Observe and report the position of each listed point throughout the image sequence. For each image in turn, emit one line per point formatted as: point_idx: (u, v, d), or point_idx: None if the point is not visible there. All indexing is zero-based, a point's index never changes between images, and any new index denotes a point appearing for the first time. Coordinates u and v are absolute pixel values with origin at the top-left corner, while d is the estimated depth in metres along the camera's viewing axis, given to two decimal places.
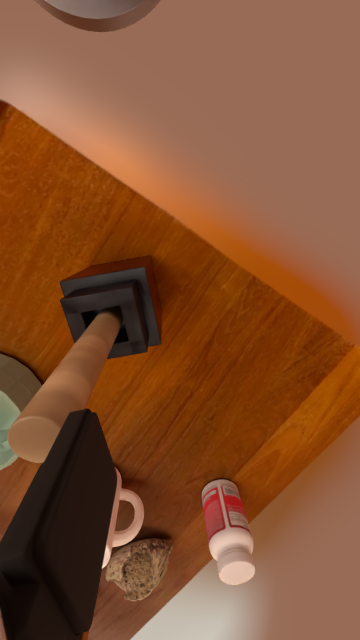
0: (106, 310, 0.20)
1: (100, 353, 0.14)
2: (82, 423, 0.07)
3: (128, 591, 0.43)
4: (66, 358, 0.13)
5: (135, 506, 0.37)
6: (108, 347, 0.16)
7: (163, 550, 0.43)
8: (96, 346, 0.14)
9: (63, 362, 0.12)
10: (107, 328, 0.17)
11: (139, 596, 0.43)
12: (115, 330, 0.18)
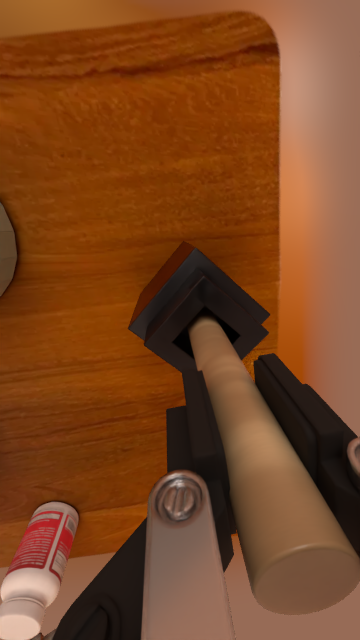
0: (217, 321, 0.16)
1: None
2: (199, 376, 0.09)
3: None
4: (256, 394, 0.08)
5: None
6: None
7: None
8: None
9: (260, 402, 0.08)
10: None
11: None
12: None
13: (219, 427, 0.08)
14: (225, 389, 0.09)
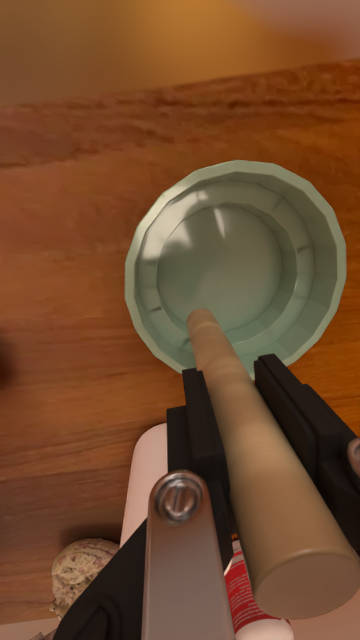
0: (217, 322, 0.16)
1: None
2: (199, 376, 0.09)
3: (63, 602, 0.29)
4: (256, 396, 0.08)
5: None
6: None
7: None
8: None
9: (260, 404, 0.08)
10: None
11: None
12: None
13: (219, 429, 0.08)
14: (225, 391, 0.09)
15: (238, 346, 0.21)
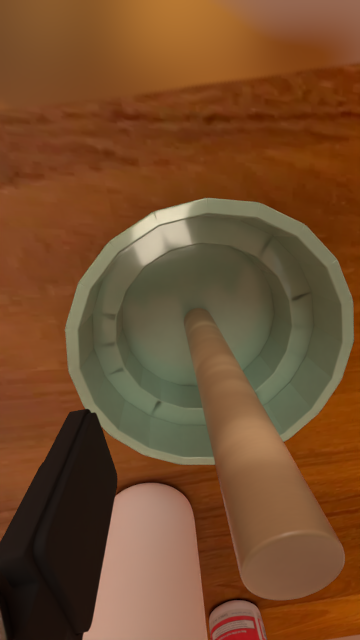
0: (214, 321, 0.16)
1: None
2: (82, 423, 0.07)
3: None
4: (249, 392, 0.09)
5: None
6: None
7: None
8: None
9: (253, 400, 0.08)
10: None
11: None
12: None
13: (213, 424, 0.08)
14: (219, 387, 0.09)
15: None
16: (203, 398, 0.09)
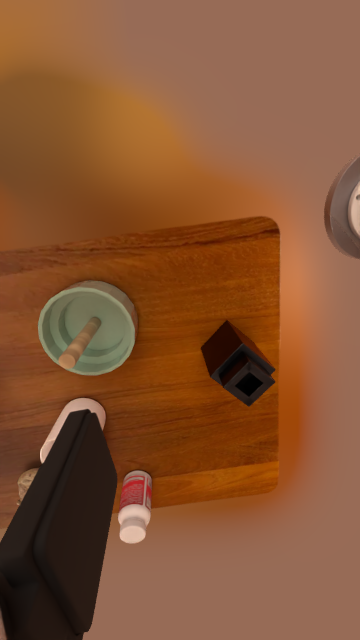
0: (96, 322, 0.42)
1: (87, 344, 0.37)
2: (82, 423, 0.07)
3: None
4: (80, 340, 0.35)
5: None
6: None
7: None
8: (88, 341, 0.37)
9: (79, 341, 0.35)
10: (93, 333, 0.40)
11: None
12: None
13: None
14: (74, 339, 0.35)
15: (103, 357, 0.44)
16: None
